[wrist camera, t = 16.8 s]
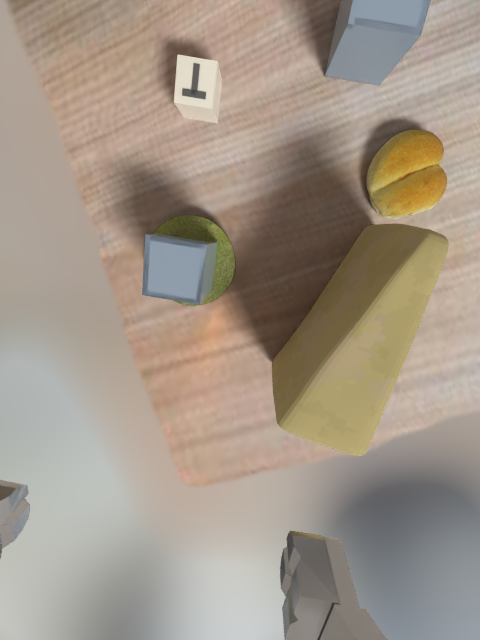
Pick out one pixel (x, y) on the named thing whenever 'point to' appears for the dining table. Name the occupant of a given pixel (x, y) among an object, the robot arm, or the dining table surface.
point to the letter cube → (198, 88)
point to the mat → (205, 232)
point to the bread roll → (407, 175)
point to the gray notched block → (373, 37)
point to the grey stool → (178, 268)
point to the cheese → (357, 337)
